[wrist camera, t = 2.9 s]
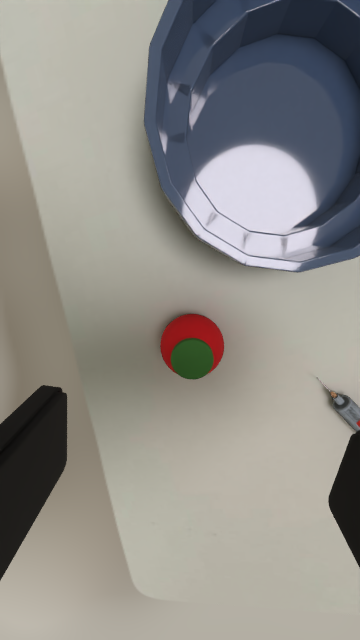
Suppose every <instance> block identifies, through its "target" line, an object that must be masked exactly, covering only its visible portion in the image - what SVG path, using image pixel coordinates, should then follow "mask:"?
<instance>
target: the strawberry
mask: <svg viewBox="0 0 360 640" xmlns="http://www.w3.org/2000/svg"><path fill="white" fill-rule="evenodd" d="M160 347H161V353H162V357H163V359H164V361H165V363H166V364H167V366H168V367H169V368H170V369H171V370H172V371H173V372H175V373H177V374H178V375H180V376H181V377H183V378H186V379H198V378H201V377H203V376H205V375H206V374H208V373H210V372H211V371H212V370H214V369H215V368H216V366H217V365H218V364H219V362H220V360H221V358H222V356H223V351H224V341H223V336H222V334H221V332H220V330H219V328H218V327H217V325H216V324H215V323H214V322H213V321H211V320H210V319H208V318H207V317H204V316H202V315H198V314H187V315H183V316H180V317H178V318H176V319H174V320H173V321H172V322H171V323H169V325H168V326H167V327H166V329H165V330H164V332H163V335H162V338H161V345H160Z"/></svg>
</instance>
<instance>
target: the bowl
mask: <svg viewBox="0 0 360 640" xmlns="http://www.w3.org/2000/svg"><path fill="white" fill-rule="evenodd" d="M144 126H145V130H146V133H147V137H148V141H149V144H150V148H151V152H152V156H153V159H154V163H155V167H156V170H157V174H158V178H159V182H160V185H161V188H162V190H163V192H164V194H165V196H166V197H167V199H168V201H169V202H170V204H171V205H172V207H173V208H174V210H175V211H176V212H177V214H178V215H179V216H180V218H181V219H182V221H183V222H184V223H185V225H186V226H187V227H188V229H189V230H190V231H191V233H192V234H193V236H194V237H195V238H196V239H198V240H199V241H201V242H203V243H204V244H206V245H208V246H209V247H211V248H213V249H214V250H216V251H218V252H219V253H221V254H223V255H224V256H226V257H228V258H229V259H231V260H234V261H236V262H238V263H240V264H242V265H245V266H251V267H259V268H266V269H274V270H282V271H289V272H297V273H298V272H304V271H307V270H311V269H315V268H319V267H323V266H327V265H330V264H334V263H338V262H342V261H346V260H350V259H353V258H356V257H358V256H359V255H360V0H168V2H167V5H166V7H165V9H164V12H163V14H162V17H161V19H160V21H159V24H158V26H157V28H156V31H155V33H154V36H153V38H152V40H151V43H150V46H149V57H148V71H147V84H146V98H145V112H144Z"/></svg>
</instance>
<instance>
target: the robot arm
mask: <svg viewBox="0 0 360 640" xmlns="http://www.w3.org/2000/svg"><path fill="white" fill-rule="evenodd" d="M66 461H67V394H66V393H63V392H62V389H61V388H60V387H53V386H45V385H43V386H41V387H40V388H39V389H37V390H36V391H35V392H34V393H33V394H32V395H31V396H30V397H29V398H28V399H27V400H26V401H25V402H24V403H23V404H21V405H20V406H19V407H18V408H17V409H16V410H15V411H14V412H13V413H12V414H11V415H10V416H9V417H8V418H6V419H5V420H4V421H3V422H2V423H1V424H0V580H1V578H2V577H3V575H4V573H5V571H6V570H7V568H8V566H9V564H10V563H11V561H12V559H13V557H14V556H15V554H16V552H17V550H18V549H19V547H20V545H21V544H22V542H23V540H24V538H25V537H26V535H27V533H28V531H29V530H30V528H31V526H32V524H33V523H34V521H35V519H36V517H37V516H38V514H39V512H40V510H41V509H42V507H43V505H44V504H45V502H46V500H47V498H48V497H49V495H50V493H51V491H52V490H53V488H54V486H55V484H56V483H57V481H58V479H59V477H60V476H61V474H62V472H63V470H64V467H65V465H66ZM329 507H330V510H331V512H332V514H333V516H334V518H335V520H336V522H337V524H338V526H339V528H340V530H341V532H342V534H343V536H344V538H345V540H346V542H347V544H348V546H349V548H350V550H351V551H352V553H353V555H354V557H355V559H356V561H357V563H358V565H359V567H360V430H358V431H357V432H356V434H353V435H352V436H351V438H350V440H349V443H348V446H347V448H346V451H345V454H344V457H343V459H342V462H341V465H340V467H339V470H338V473H337V476H336V478H335V481H334V484H333V486H332V489H331V492H330V495H329Z"/></svg>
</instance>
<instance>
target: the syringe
mask: <svg viewBox="0 0 360 640" xmlns="http://www.w3.org/2000/svg"><path fill="white" fill-rule="evenodd" d="M316 378H317V377H316ZM317 379H318V378H317ZM318 380H319V379H318ZM319 381H320V380H319ZM320 382H321V381H320ZM321 383H322V382H321ZM322 384H323V383H322ZM323 385H324V384H323ZM324 386H325V385H324ZM325 387H326V386H325ZM326 388H327V387H326ZM327 389H328V388H327ZM328 390H329V389H328ZM329 391H330V390H329ZM330 393H331V396H332V398H333V399H334V402H333V407H334V409H335V410H336V411H337V412H338V413H339V414H340V415H341V416H342V417H343V418H344V419H345V420H346V421H347V422H348V423H349V424H350V425H351V426H352V427H353V428H354V429H355V430H356V431H358V430H360V408H359V407H358V406H357V405H356V404H355V403H354V402H353V401H352V399H351V398H350V397H348V396H346V395H342V396H339V395H338V394H336V393H334V392H332V391H330Z"/></svg>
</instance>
